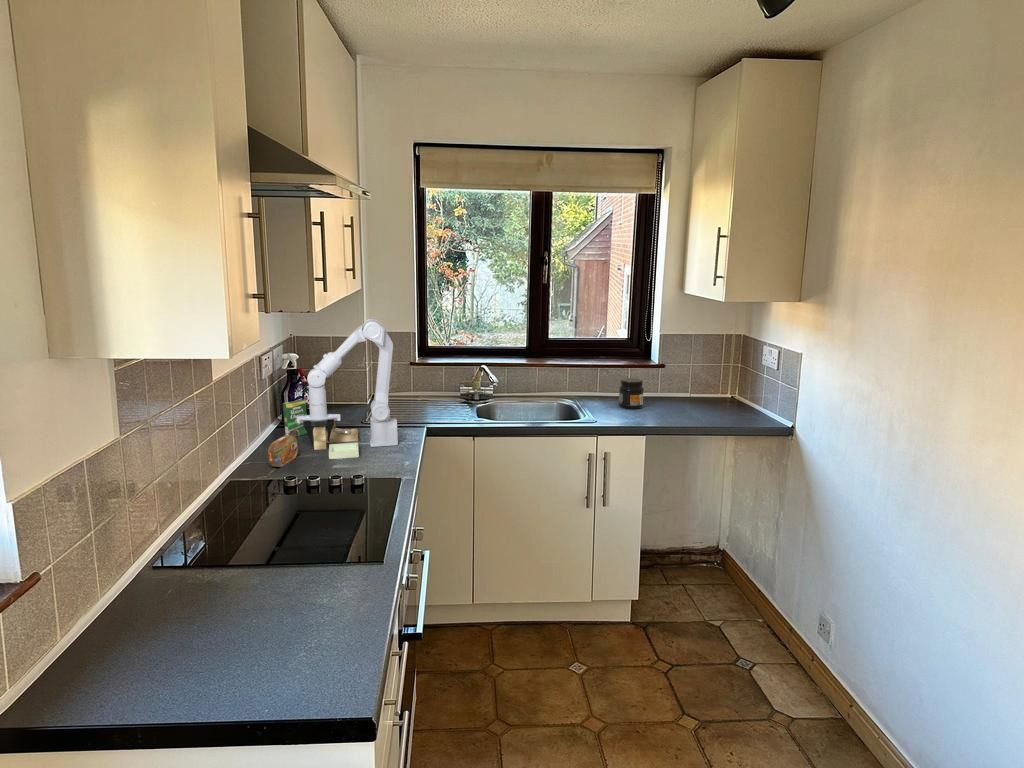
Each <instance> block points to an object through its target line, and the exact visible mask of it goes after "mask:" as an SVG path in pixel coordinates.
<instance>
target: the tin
mask: <svg viewBox="0 0 1024 768" xmlns="http://www.w3.org/2000/svg"><path fill="white" fill-rule="evenodd" d="M298 453H299V442H298V438H297V436H296V437H295V436H294V435H285V434H284V435H283V436H281V437H279V438H278V439H276V440H274V441H272V442H271V443H270V445H269V446H268V449H267V455H268V462H269V465H270V466H272V467H275V468H277V467H279V468H282V466H283V467H284V466H286V465H287V464H289V463H291V462H292V461H293V460H295V459H296V458H297V457H298ZM290 461H291V462H290Z"/></svg>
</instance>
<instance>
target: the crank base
mask: <svg viewBox="0 0 1024 768" xmlns="http://www.w3.org/2000/svg"><path fill="white" fill-rule="evenodd" d="M350 429H351V434H347V435H344V434H342V433H338V432H333V431H331V434H330V442H328V441H327V435H328V432H327V430H326V444H336V443H352V442H359V430H358V428H350Z"/></svg>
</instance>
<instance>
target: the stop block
mask: <svg viewBox="0 0 1024 768" xmlns="http://www.w3.org/2000/svg"><path fill="white" fill-rule="evenodd" d="M326 431H327V425H326V426H314V427H313V429H312V437H313V448H314V449H313V450H314V451H316V450H326V449H327V444H328V443H326Z"/></svg>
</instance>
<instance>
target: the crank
mask: <svg viewBox="0 0 1024 768" xmlns="http://www.w3.org/2000/svg"><path fill="white" fill-rule="evenodd" d="M351 429H352V428H344V429H343V428H338V427H336V421H334V426H333V428H332V431H333V432H338V433H342V434H344V435H347V434H351Z"/></svg>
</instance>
